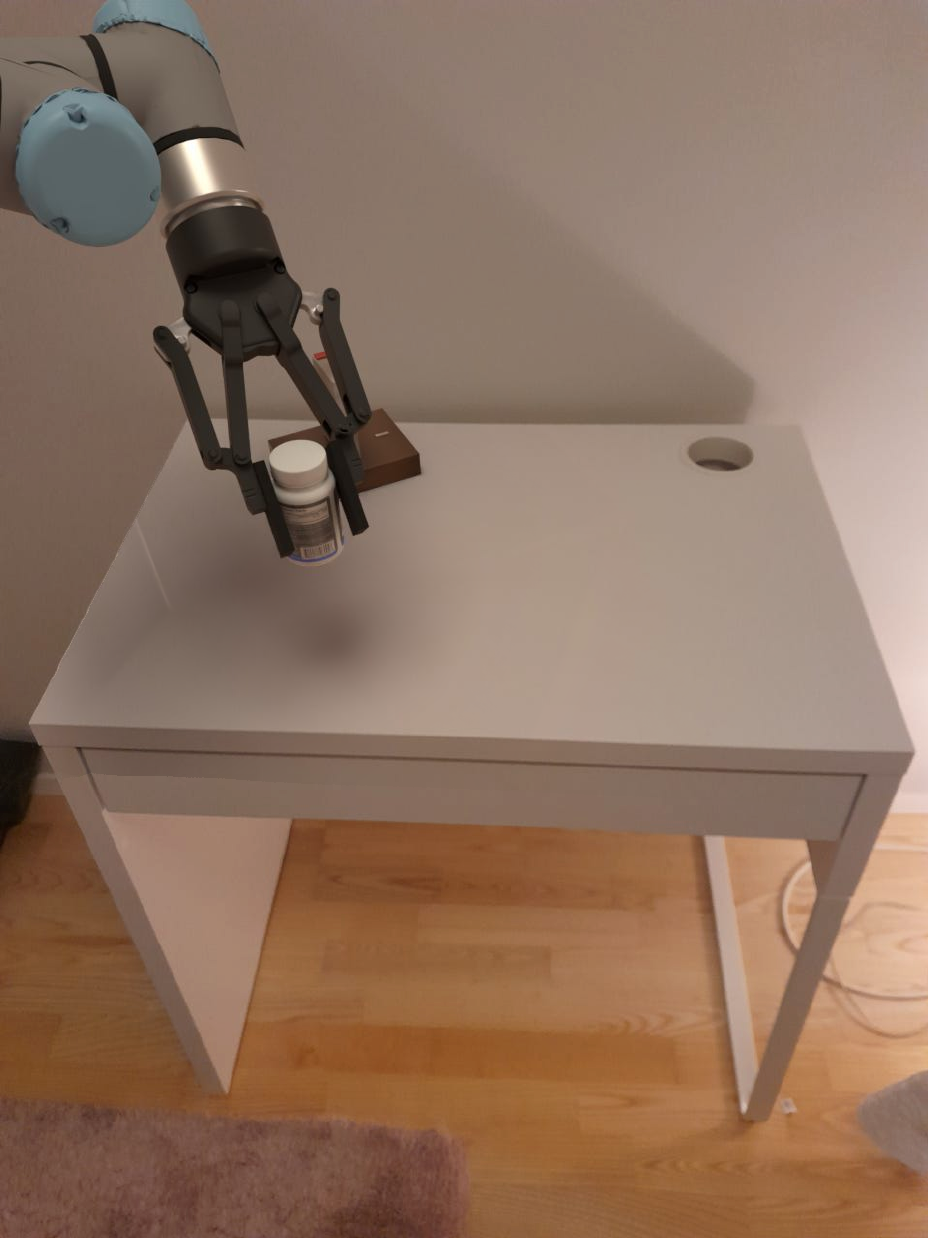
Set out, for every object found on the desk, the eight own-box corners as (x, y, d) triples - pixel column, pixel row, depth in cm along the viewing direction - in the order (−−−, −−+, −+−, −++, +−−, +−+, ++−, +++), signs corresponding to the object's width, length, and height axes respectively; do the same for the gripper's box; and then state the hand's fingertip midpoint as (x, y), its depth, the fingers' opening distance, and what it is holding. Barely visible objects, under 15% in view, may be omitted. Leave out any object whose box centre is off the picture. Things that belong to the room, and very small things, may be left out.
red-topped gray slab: (361, 458, 95) (350, 375, 88) (344, 463, 94) (332, 380, 88) (340, 429, 99) (328, 348, 92) (324, 434, 98) (311, 353, 92)
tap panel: (302, 510, 93) (297, 488, 91) (271, 459, 100) (266, 438, 98) (421, 474, 97) (420, 452, 95) (384, 427, 104) (381, 405, 102)
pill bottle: (300, 523, 73) (283, 431, 68) (355, 535, 72) (342, 442, 66) (271, 561, 70) (250, 467, 64) (328, 574, 69) (312, 479, 63)
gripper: (327, 228, 72) (426, 516, 73) (91, 277, 67) (199, 587, 67) (343, 177, 65) (453, 496, 65) (80, 226, 60) (201, 574, 60)
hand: (324, 542), depth 66 cm, fingers closed on pill bottle, 5 cm apart
